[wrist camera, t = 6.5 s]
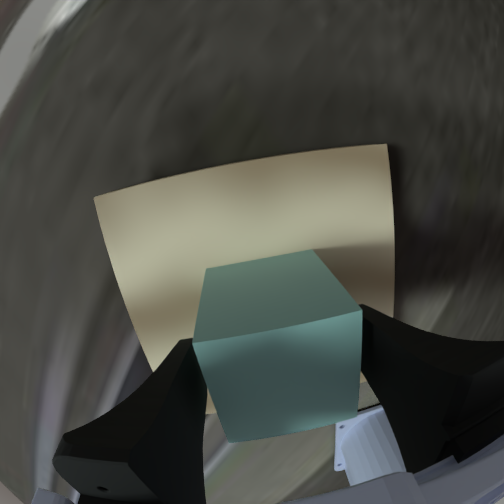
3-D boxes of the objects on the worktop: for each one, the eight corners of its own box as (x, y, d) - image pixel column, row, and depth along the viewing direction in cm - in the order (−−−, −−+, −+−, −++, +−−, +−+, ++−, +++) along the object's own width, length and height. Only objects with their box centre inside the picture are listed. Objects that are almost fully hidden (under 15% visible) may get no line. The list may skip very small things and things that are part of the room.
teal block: (319, 336, 16) (356, 417, 10) (227, 354, 16) (229, 442, 10) (311, 249, 14) (362, 310, 8) (205, 268, 14) (192, 343, 8)
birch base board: (373, 353, 19) (387, 374, 17) (179, 391, 19) (175, 416, 17) (365, 144, 15) (386, 144, 13) (112, 191, 15) (93, 197, 12)
